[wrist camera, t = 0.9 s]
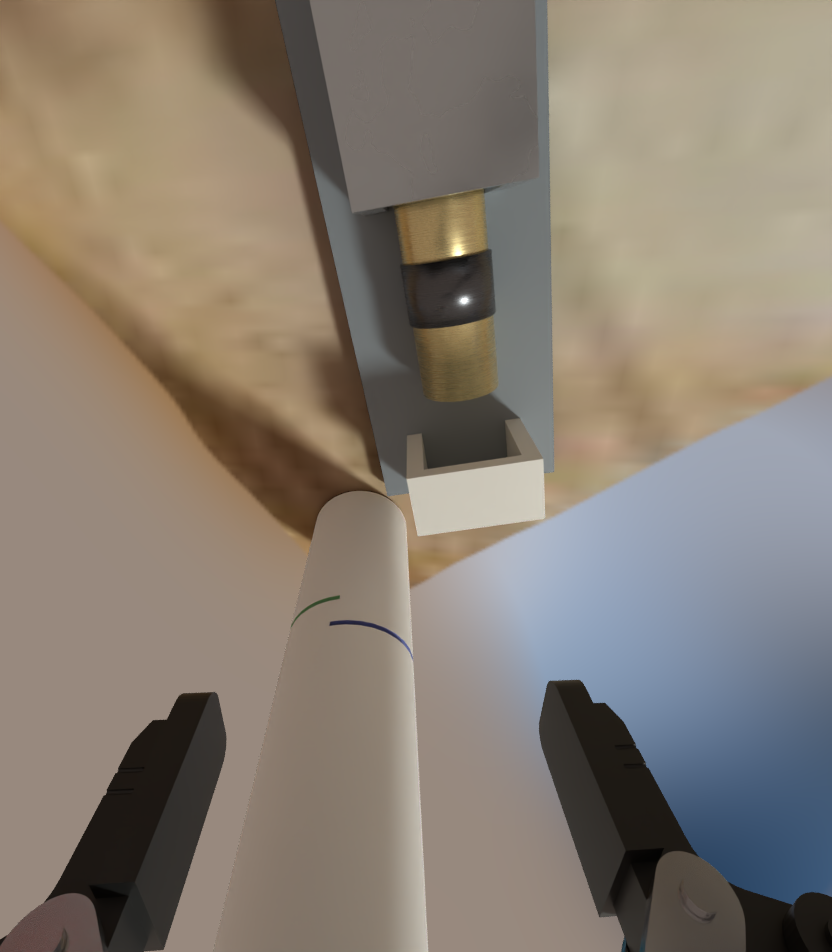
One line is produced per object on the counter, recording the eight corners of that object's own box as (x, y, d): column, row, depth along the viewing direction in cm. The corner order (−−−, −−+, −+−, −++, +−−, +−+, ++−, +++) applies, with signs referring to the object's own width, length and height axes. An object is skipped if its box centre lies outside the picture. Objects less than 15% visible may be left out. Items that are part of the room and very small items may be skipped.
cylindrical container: (404, 563, 38) (424, 1029, 16) (318, 563, 37) (220, 1043, 16) (408, 491, 34) (439, 966, 13) (312, 490, 34) (175, 982, 12)
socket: (406, 435, 30) (406, 479, 25) (519, 418, 30) (543, 458, 25) (416, 486, 32) (417, 536, 27) (522, 470, 32) (545, 518, 27)
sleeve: (317, -43, 19) (278, -156, 14) (492, -84, 19) (529, -219, 13) (365, 216, 24) (352, 212, 18) (507, 189, 24) (539, 177, 18)
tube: (356, -9, 20) (343, -70, 16) (462, -32, 20) (475, -101, 16) (420, 382, 29) (421, 408, 25) (493, 370, 28) (508, 394, 24)
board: (275, -22, 21) (266, -38, 19) (536, -81, 20) (545, -103, 19) (388, 485, 34) (387, 496, 33) (548, 462, 33) (554, 471, 32)
